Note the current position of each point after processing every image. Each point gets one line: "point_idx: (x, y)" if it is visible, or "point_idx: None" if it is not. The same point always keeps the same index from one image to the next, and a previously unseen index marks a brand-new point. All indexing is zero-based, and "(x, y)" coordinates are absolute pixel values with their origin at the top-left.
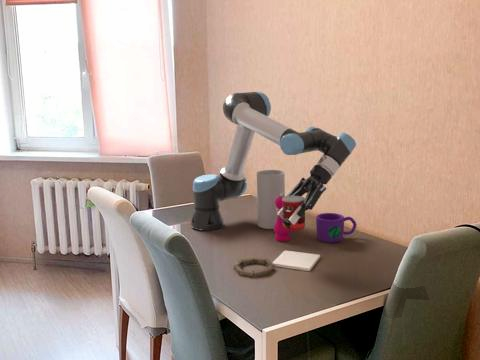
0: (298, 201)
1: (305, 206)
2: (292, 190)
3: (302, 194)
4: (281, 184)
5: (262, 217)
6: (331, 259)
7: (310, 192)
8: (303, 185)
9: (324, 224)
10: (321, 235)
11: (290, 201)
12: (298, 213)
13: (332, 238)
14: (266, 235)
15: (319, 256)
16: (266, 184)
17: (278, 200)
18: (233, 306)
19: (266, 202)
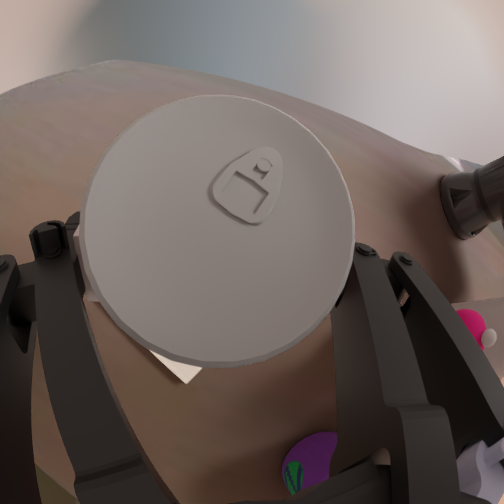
0: (86, 206)
1: (30, 266)
2: (447, 310)
3: (341, 399)
4: None
5: (457, 307)
6: (156, 404)
7: (72, 451)
8: (414, 452)
9: (323, 465)
10: (313, 441)
11: (139, 124)
12: (77, 217)
13: (286, 464)
14: (402, 302)
15: (180, 378)
16: None
17: (469, 317)
18: (62, 74)
19: (488, 314)
